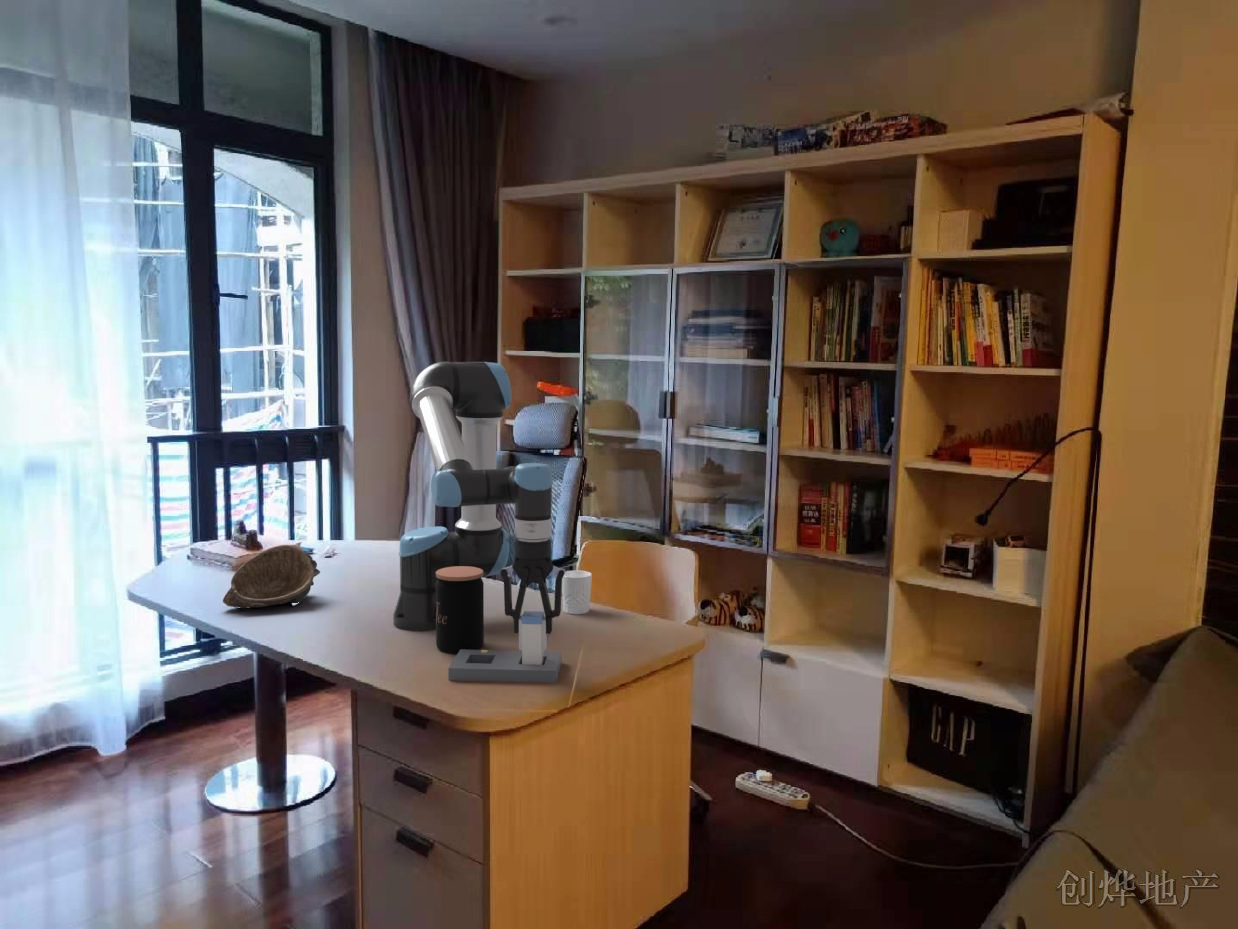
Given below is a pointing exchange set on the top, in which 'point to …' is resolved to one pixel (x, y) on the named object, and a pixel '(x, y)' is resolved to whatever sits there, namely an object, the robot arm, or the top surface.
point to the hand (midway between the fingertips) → (532, 648)
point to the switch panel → (503, 667)
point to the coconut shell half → (272, 578)
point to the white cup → (576, 591)
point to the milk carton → (532, 638)
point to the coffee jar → (459, 609)
